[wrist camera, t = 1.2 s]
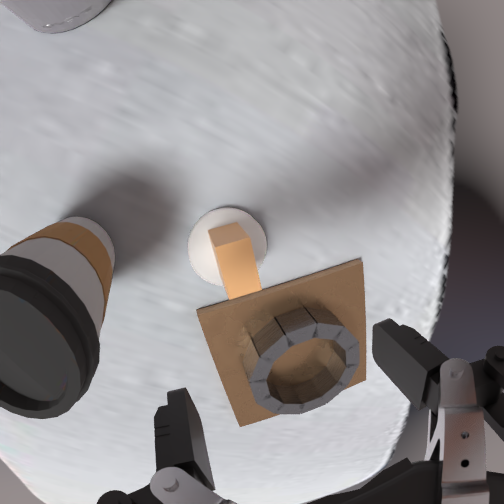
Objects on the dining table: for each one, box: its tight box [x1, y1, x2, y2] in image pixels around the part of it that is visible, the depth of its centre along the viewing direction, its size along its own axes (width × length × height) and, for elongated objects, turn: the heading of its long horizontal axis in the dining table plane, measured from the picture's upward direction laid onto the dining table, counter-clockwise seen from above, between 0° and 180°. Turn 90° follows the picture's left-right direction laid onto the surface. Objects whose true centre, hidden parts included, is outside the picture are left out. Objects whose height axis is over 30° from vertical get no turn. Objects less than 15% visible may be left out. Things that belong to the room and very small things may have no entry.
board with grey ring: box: [197, 259, 366, 427], centre depth 31 cm, size 16×16×4 cm
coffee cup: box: [0, 216, 115, 419], centre depth 17 cm, size 8×8×15 cm
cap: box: [187, 207, 267, 300], centre depth 25 cm, size 6×6×6 cm
